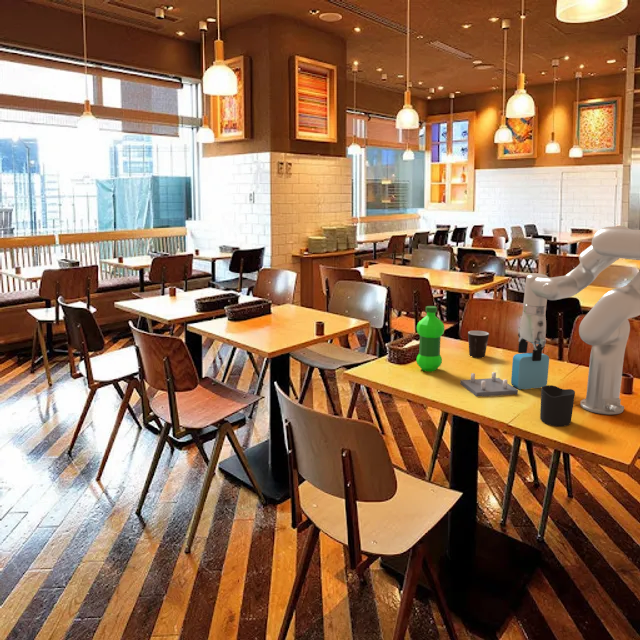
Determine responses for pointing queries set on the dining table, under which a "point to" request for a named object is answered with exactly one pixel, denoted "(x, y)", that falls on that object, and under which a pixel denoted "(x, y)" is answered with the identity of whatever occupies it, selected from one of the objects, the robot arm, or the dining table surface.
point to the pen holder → (556, 405)
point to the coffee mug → (477, 343)
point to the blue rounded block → (529, 371)
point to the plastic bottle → (429, 340)
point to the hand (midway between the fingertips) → (529, 356)
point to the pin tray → (488, 386)
